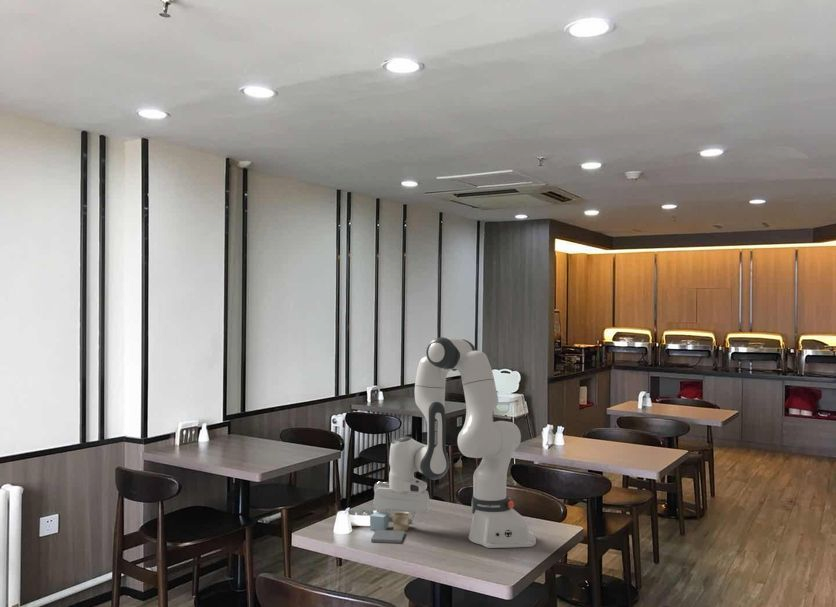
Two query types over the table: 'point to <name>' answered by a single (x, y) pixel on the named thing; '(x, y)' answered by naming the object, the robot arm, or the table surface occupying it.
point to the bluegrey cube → (379, 521)
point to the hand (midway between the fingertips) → (401, 522)
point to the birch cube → (401, 521)
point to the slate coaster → (388, 536)
